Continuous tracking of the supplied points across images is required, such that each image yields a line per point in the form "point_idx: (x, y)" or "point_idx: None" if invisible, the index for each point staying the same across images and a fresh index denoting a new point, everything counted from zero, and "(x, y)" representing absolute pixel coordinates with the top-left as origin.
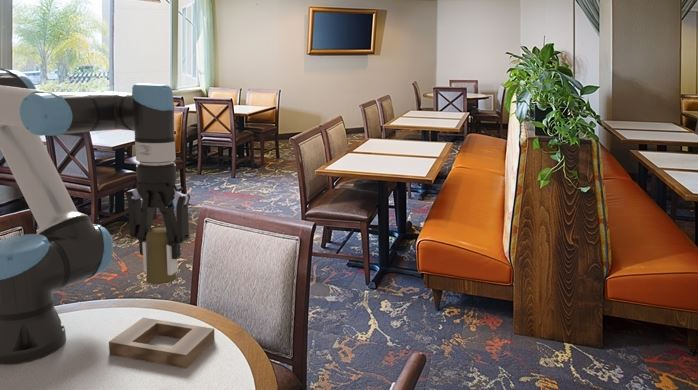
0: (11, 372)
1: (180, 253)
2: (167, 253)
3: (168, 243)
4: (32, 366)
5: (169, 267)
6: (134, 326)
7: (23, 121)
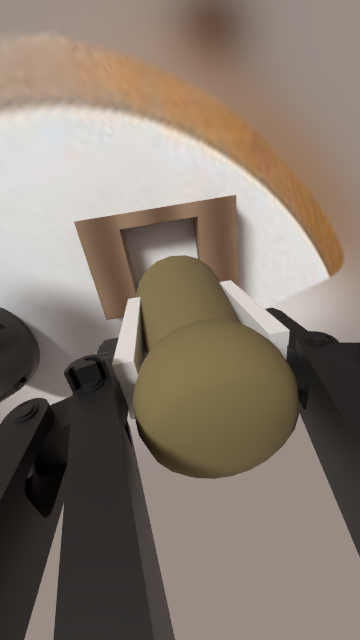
0: (46, 388)
1: (285, 314)
2: None
3: None
4: (52, 371)
5: None
6: (94, 261)
7: None
